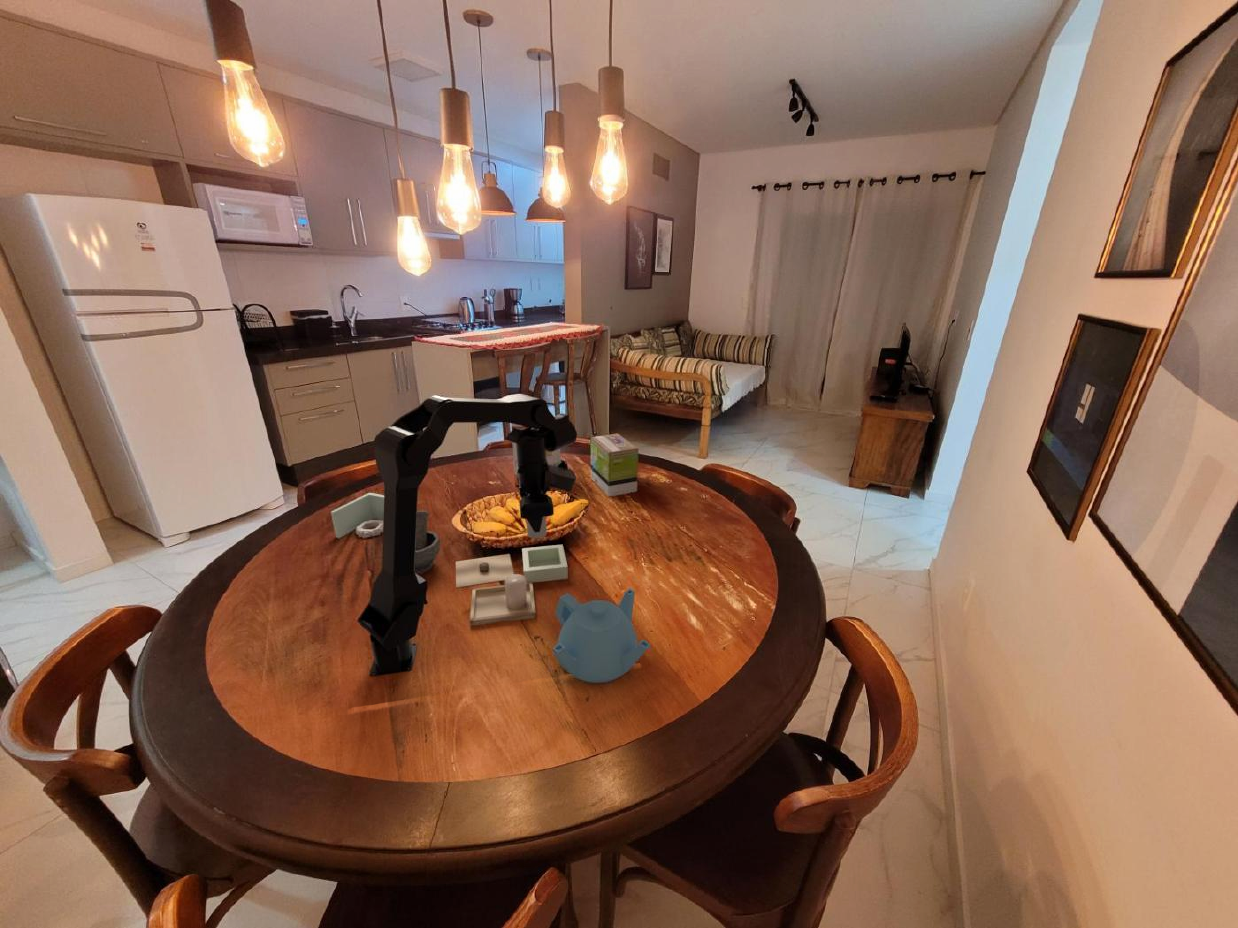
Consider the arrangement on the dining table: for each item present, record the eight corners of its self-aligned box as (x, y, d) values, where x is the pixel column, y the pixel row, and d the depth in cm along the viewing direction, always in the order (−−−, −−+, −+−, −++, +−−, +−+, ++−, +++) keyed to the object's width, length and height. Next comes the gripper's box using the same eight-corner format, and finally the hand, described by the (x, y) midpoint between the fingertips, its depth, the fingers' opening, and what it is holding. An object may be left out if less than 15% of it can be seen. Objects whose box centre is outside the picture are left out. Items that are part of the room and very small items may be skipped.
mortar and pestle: (432, 581, 102) (425, 532, 98) (388, 580, 102) (379, 531, 98) (450, 553, 113) (444, 507, 108) (410, 552, 113) (403, 506, 108)
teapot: (636, 625, 91) (638, 577, 87) (649, 688, 77) (652, 634, 73) (555, 629, 89) (553, 581, 86) (553, 694, 76) (551, 640, 72)
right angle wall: (336, 539, 118) (330, 511, 115) (374, 517, 129) (369, 492, 126) (375, 548, 115) (370, 520, 112) (410, 525, 125) (406, 499, 123)
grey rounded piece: (547, 537, 100) (546, 514, 98) (528, 539, 99) (526, 516, 97) (545, 527, 104) (544, 505, 101) (527, 529, 103) (525, 507, 101)
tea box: (589, 479, 155) (589, 435, 150) (617, 474, 159) (618, 432, 154) (608, 497, 143) (608, 451, 137) (638, 492, 147) (639, 447, 141)
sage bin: (567, 580, 104) (567, 566, 102) (524, 585, 102) (523, 571, 100) (562, 557, 112) (562, 544, 111) (522, 561, 110) (522, 548, 109)
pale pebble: (527, 608, 94) (526, 584, 92) (506, 610, 93) (504, 587, 91) (526, 595, 98) (525, 573, 96) (506, 598, 97) (504, 575, 95)
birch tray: (535, 619, 92) (535, 612, 91) (470, 627, 89) (469, 620, 88) (532, 588, 101) (532, 581, 100) (473, 595, 98) (472, 588, 98)
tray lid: (514, 580, 103) (514, 573, 102) (456, 589, 100) (455, 582, 99) (509, 556, 112) (509, 549, 111) (455, 563, 108) (455, 557, 108)
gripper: (579, 473, 88) (581, 545, 94) (566, 439, 105) (569, 502, 111) (517, 478, 86) (523, 552, 92) (514, 443, 102) (520, 507, 108)
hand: (536, 526), depth 101 cm, fingers closed on grey rounded piece, 4 cm apart
